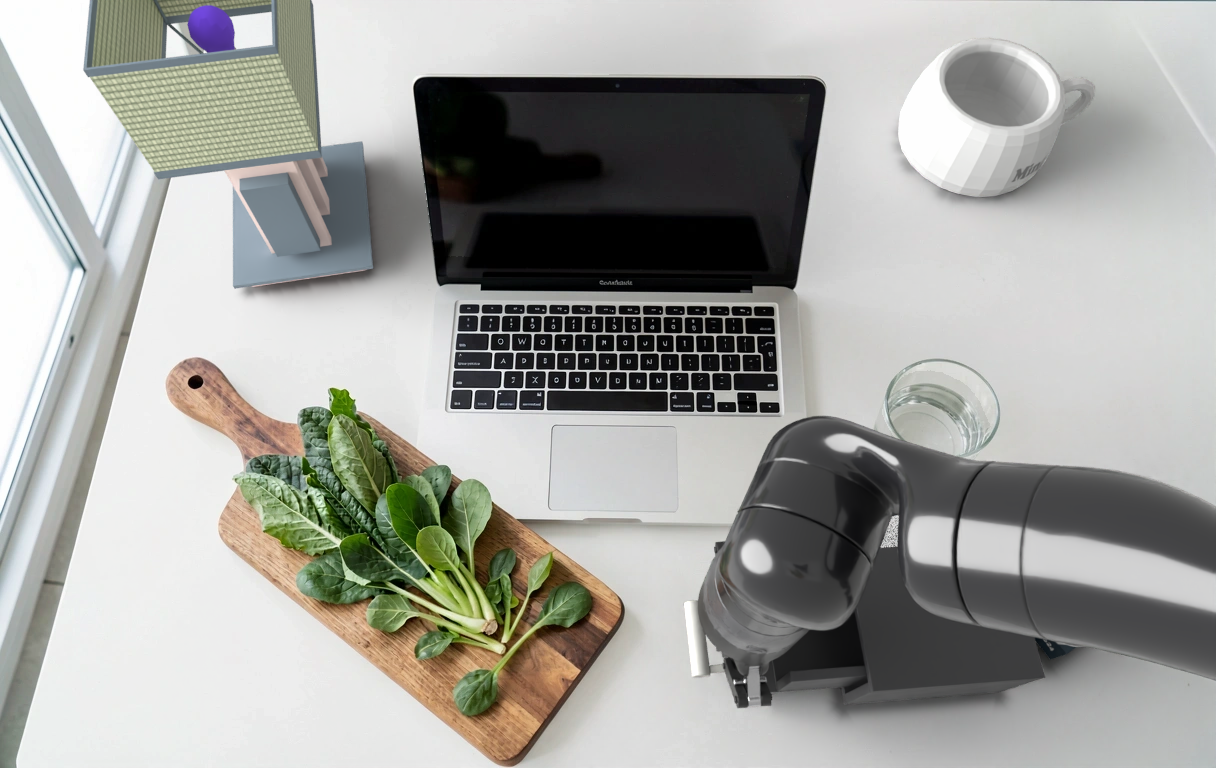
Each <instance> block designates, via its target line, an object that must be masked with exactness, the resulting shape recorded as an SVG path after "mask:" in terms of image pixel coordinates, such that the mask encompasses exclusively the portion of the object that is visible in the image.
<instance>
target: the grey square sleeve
mask: <svg viewBox="0 0 1216 768" xmlns="http://www.w3.org/2000/svg"><path fill="white" fill-rule="evenodd" d="M855 616H856V621H857V626H858V632H859V637H860V642H861V647H862V652H863V658H864V663H865V668H866V673H867V678H868V683H866V684H864V685H862V686H853V687H841V688H840V690H841V695H842V700H843V705H845V706H846V705H858V704H870V703H872V704H873V703H884V702H897V701H908V700H909V701H910V700H920V699H921V700H923V699H933V698H947V697H957V696H971V695H973V696H974V695H986V694H996V693H1001V692H1005V691H1007V690H1012V689H1015V688H1017V687H1020V686H1024V685H1027V684H1030V683H1034V682H1036V681H1040V680H1043V679H1045V678H1046V675H1045V669H1044V666H1043V663H1042V659H1041V655H1040V651H1039V648H1038V644H1037V642H1036V641H1035V637H1031V636H1026V635H1021V634H1016V633H1011V632H1006V631H1001V630H996V629H991V628H986V627H980V626H975V625H970V624H966V623H961V622H957V621H952V620H948V619H945V618H942V617H939V616H936V615H934V614H932V613H930V612H928V611H926V610H925V609H923V608H922V607H920V606H919V605H918V604H917V603H916V602H915V601H914V599H913V598H912V597H911V596H910V594H909V593H908V591H907V589H906V587H905V585H904V583H903V580H902V576H901V573H900V567H899V561H898V545H897V546H886V547H880V550H879V553H878V556H877V558H876V561H875V564H874V567H873V569H872V572H871V575H870V578H869V581H868V583H867V586H866V589H865V591H864V594H863V596H862V598H861V600H860V602H859V604H858V606H857V608H856V609H855Z"/></svg>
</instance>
